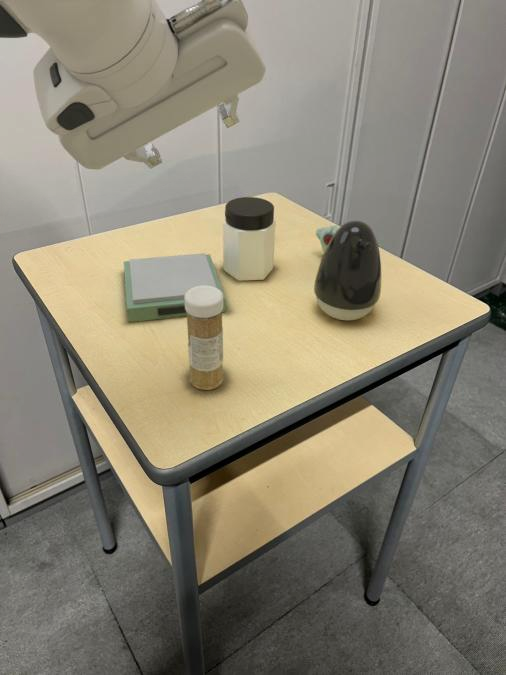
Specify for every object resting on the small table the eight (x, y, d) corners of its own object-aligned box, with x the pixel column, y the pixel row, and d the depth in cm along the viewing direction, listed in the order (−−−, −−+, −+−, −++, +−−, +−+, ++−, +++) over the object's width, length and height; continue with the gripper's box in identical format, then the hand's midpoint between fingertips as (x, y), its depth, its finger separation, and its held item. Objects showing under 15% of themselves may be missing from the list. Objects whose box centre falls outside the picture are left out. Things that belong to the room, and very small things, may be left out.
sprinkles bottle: (198, 366, 71) (193, 280, 63) (229, 373, 70) (229, 288, 62) (183, 387, 67) (177, 299, 59) (216, 395, 66) (214, 307, 58)
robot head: (355, 261, 96) (360, 227, 92) (345, 270, 93) (350, 235, 89) (317, 249, 100) (321, 216, 96) (306, 257, 97) (310, 223, 93)
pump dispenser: (321, 332, 78) (333, 240, 69) (304, 296, 86) (313, 209, 77) (386, 327, 79) (406, 236, 70) (363, 292, 87) (378, 206, 78)
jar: (237, 254, 97) (238, 192, 90) (278, 263, 95) (282, 200, 88) (216, 276, 90) (215, 211, 83) (259, 286, 88) (262, 220, 81)
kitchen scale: (128, 323, 78) (126, 305, 76) (125, 274, 90) (122, 257, 88) (226, 312, 81) (226, 295, 79) (210, 266, 93) (209, 249, 91)
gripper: (222, -46, 41) (271, 70, 54) (18, 80, 46) (108, 159, 59) (246, 11, 39) (291, 117, 52) (31, 136, 44) (121, 206, 57)
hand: (193, 140), depth 55 cm, fingers open, 8 cm apart
